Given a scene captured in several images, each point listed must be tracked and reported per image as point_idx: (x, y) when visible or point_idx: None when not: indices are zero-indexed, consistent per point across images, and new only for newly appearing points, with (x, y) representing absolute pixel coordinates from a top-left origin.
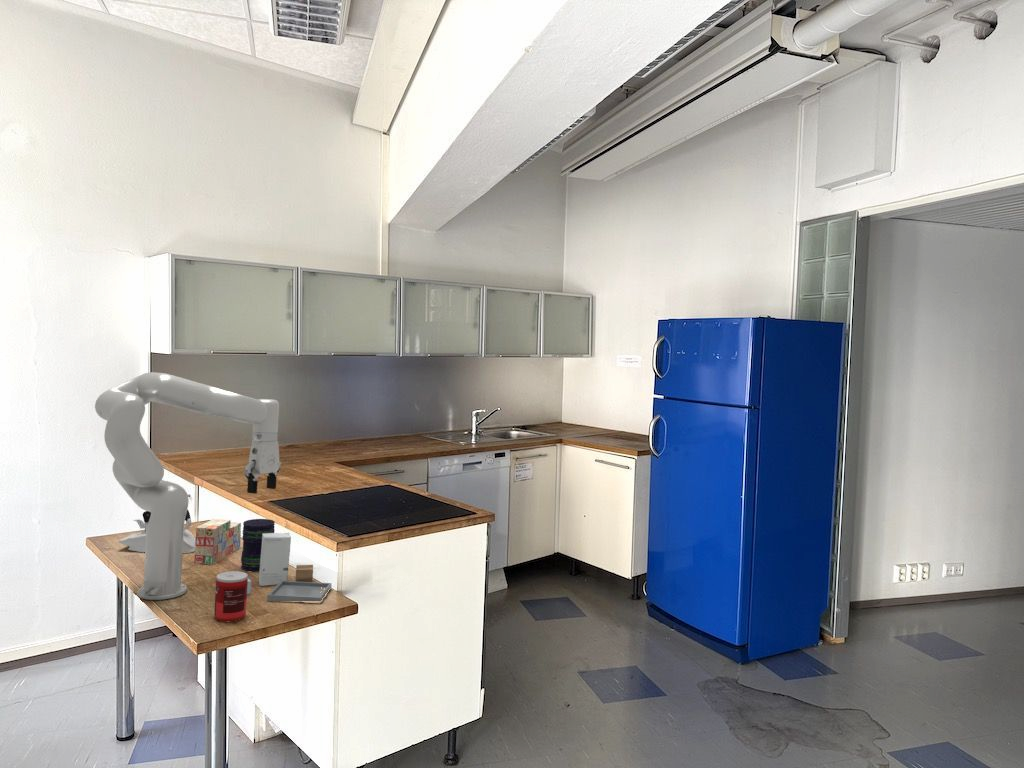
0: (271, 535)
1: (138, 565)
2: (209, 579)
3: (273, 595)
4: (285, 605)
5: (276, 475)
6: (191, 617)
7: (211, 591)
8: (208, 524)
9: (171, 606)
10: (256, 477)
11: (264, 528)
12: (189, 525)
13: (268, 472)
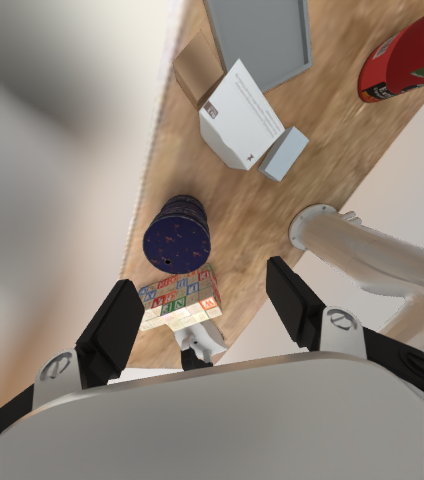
0: (261, 125)
1: (247, 304)
2: (253, 225)
3: (311, 51)
4: (315, 13)
5: (64, 358)
6: (383, 129)
7: (290, 187)
8: (200, 315)
9: (348, 184)
10: (337, 333)
11: (190, 217)
12: (185, 339)
13: (237, 373)
